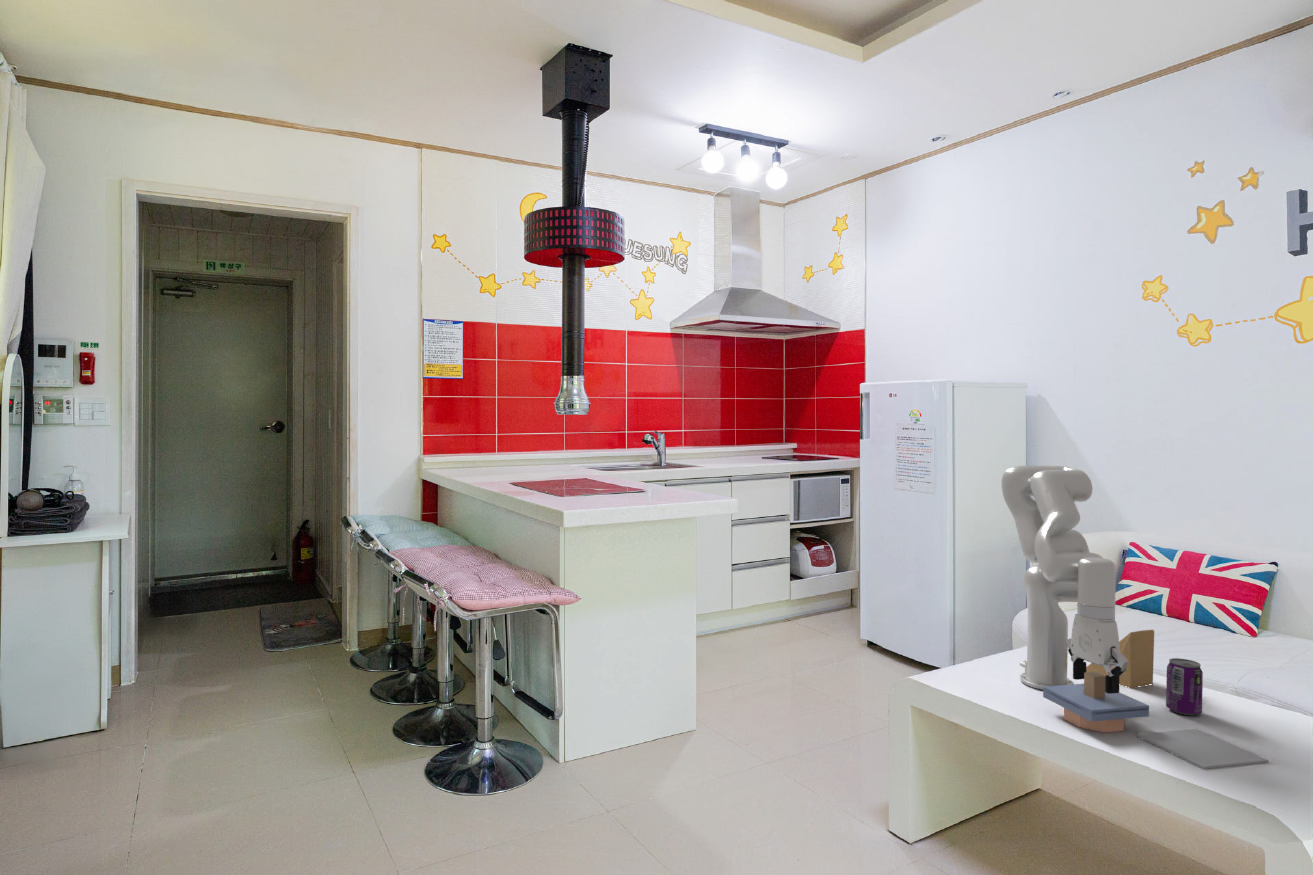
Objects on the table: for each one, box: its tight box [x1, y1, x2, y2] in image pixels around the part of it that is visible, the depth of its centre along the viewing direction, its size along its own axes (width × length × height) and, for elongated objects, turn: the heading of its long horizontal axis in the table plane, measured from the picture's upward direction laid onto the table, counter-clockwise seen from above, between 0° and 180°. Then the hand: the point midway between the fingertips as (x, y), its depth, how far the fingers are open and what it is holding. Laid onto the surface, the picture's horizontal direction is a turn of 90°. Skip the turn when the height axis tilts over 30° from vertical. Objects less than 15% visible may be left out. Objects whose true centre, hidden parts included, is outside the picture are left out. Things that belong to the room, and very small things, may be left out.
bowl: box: [1063, 707, 1125, 733], centre depth 174 cm, size 12×12×5 cm
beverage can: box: [1165, 657, 1204, 717], centre depth 180 cm, size 7×7×12 cm
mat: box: [1136, 728, 1270, 770], centre depth 159 cm, size 16×16×1 cm
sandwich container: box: [1086, 629, 1155, 689], centre depth 204 cm, size 9×15×15 cm, turn 18°
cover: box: [1042, 672, 1150, 722], centre depth 173 cm, size 15×15×8 cm
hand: (1095, 685), depth 173 cm, fingers open, 9 cm apart
